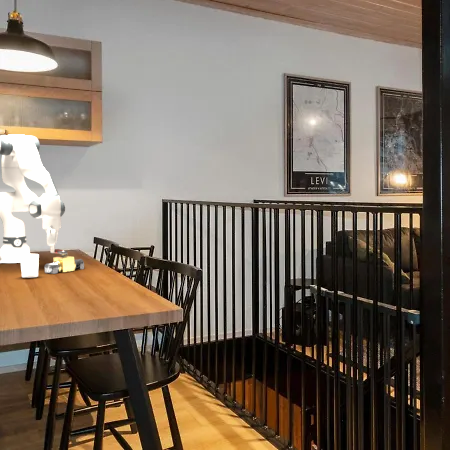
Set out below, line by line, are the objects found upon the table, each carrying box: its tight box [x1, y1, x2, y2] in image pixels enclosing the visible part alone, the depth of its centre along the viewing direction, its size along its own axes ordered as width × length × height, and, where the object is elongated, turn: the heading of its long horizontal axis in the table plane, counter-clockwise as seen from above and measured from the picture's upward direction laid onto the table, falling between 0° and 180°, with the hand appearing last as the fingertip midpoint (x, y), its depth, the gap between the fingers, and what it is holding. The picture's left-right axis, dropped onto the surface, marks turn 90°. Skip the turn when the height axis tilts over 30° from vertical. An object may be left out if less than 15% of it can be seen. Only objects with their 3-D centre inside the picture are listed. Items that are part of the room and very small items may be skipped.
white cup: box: [20, 253, 40, 279], centre depth 215 cm, size 8×8×10 cm
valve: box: [44, 255, 85, 275], centre depth 232 cm, size 20×7×8 cm, turn 148°
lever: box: [53, 248, 68, 256], centre depth 235 cm, size 14×3×2 cm, turn 38°
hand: (52, 252), depth 237 cm, fingers closed
